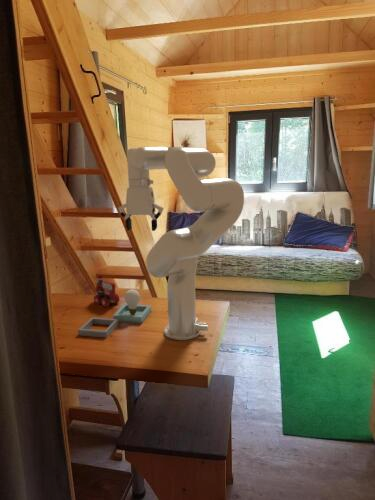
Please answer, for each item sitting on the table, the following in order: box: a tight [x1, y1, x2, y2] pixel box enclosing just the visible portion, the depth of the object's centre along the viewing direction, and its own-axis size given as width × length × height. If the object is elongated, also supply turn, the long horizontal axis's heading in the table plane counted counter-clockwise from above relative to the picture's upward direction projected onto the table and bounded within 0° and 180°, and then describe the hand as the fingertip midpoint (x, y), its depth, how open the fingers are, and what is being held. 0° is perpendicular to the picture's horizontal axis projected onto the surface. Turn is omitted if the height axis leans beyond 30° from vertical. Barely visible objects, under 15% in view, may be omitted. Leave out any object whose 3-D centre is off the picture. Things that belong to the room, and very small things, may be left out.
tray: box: [112, 303, 152, 324], centre depth 145 cm, size 11×11×2 cm
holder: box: [77, 317, 120, 338], centre depth 135 cm, size 10×10×2 cm
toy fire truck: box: [93, 278, 120, 308], centre depth 158 cm, size 7×12×10 cm, turn 48°
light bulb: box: [123, 288, 141, 315], centre depth 144 cm, size 6×6×10 cm
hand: (141, 229), depth 140 cm, fingers open, 9 cm apart
